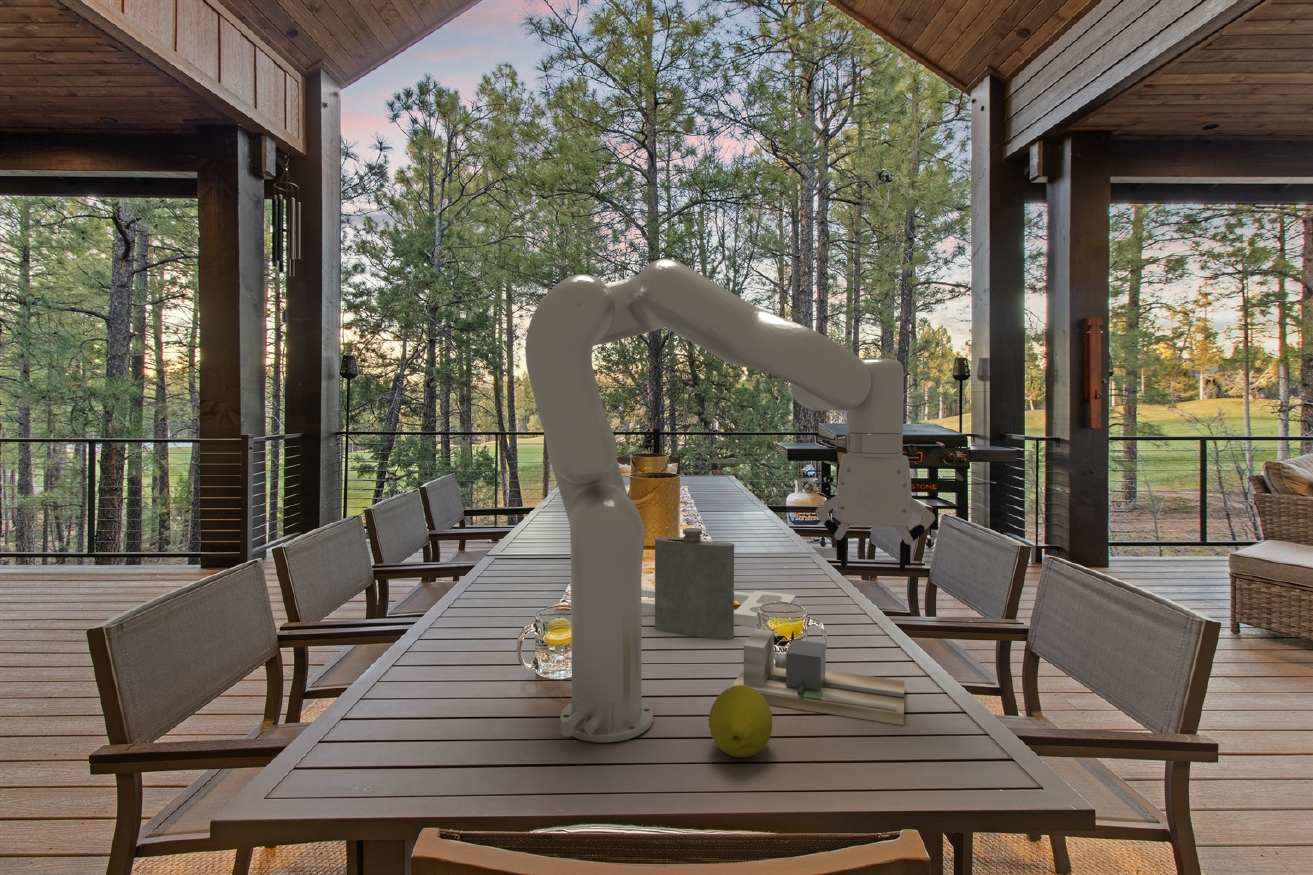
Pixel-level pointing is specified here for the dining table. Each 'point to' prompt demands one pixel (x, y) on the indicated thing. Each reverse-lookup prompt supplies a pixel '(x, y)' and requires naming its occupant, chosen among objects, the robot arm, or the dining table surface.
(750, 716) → the lemon
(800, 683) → the block
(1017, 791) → the dining table surface
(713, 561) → the hip flask
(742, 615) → the holder
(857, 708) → the track board
